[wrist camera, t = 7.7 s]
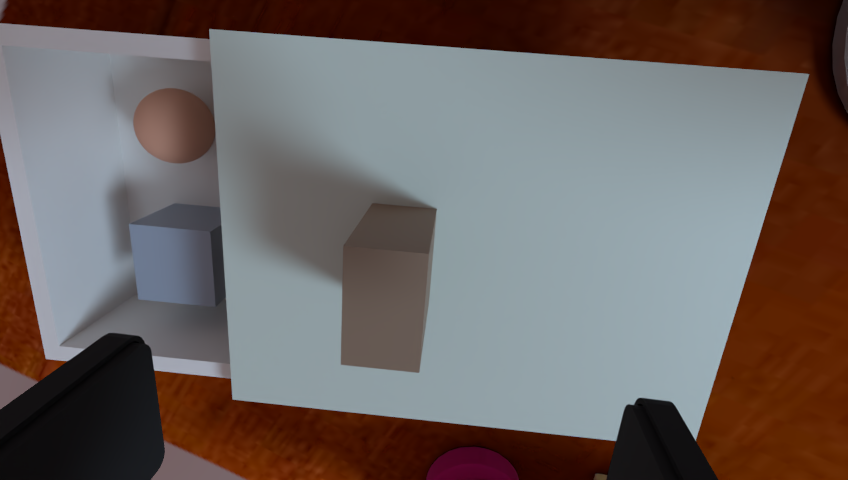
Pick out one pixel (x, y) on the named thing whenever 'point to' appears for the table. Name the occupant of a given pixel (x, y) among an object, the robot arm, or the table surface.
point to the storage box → (102, 186)
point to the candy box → (600, 477)
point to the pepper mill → (472, 466)
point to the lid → (486, 227)
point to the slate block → (179, 255)
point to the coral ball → (174, 125)
